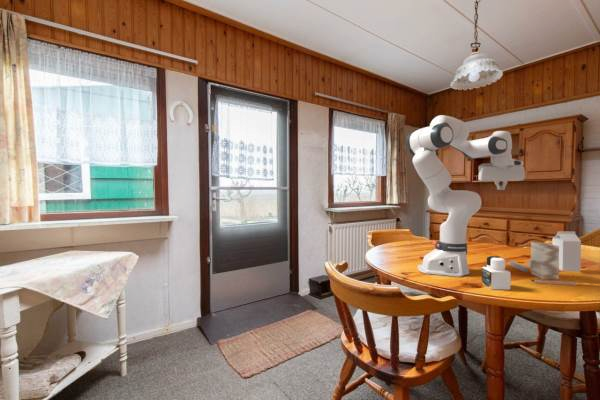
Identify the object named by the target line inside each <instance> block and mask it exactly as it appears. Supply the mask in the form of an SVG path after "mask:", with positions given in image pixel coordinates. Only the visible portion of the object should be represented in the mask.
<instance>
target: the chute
mask: <svg viewBox="0 0 600 400" xmlns="http://www.w3.org/2000/svg"><path fill="white" fill-rule="evenodd" d="M508 265H509V266H511V267H514V268H515V269H517V270H520V271H522V272H524V273H528V270H529V269H528V267H530V268H531V260H529V261H527V260H526V265H527V267H526V266H524V265H523V264H520V263H518V262H516V261H513V260H509V261H508ZM530 281H531V282H533V283H535V284H540V285H557V286H558V285H560V286H561V285H562V286H578V285H577V284H578V283H577V282H576V281H575V282H574V281H569V280H567V281H566V280H565V281H562V280H549V279H530Z"/></svg>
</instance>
